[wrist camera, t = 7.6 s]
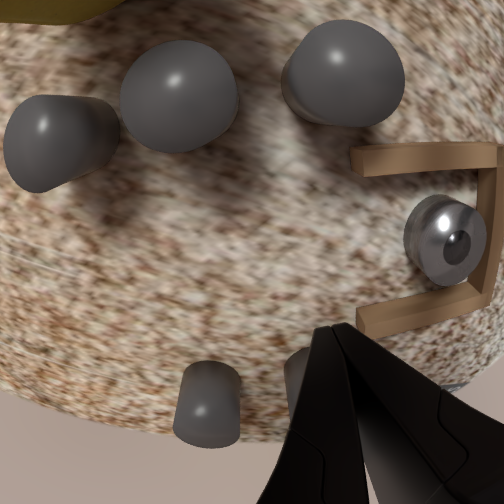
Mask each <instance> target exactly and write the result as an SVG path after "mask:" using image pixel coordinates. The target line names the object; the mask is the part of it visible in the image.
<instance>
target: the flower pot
mask: <svg viewBox="0 0 504 504" xmlns="http://www.w3.org/2000/svg"><path fill="white" fill-rule="evenodd" d="M123 1H125V0H0V23H24V24H38V25H68V24H74V23H78V22H82V21H85V20H88V19H90V18H93V17H95V16H97V15H100V14H102V13H104V12H106V11H108V10H110V9H112V8H114V7H116V6H117V5H118V4H120V3H122V2H123Z"/></svg>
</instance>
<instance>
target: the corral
mask: <svg viewBox="0 0 504 504" xmlns="http://www.w3.org/2000/svg"><path fill="white" fill-rule="evenodd" d="M349 149H350V159H351V169H352V171H354V172H355V173H357V174H359V175H361V176H363V177H370V176H380V175H390V174H400V173H412V172H424V171H437V170H452V169H470V168H478V193H477V210H476V211H478V212H479V213H480V215H481V216H482V218H483V220H484V223H485V226H486V245H485V249H484V252H483V255H482V257H481V260H480V261H479V263H478V265H477V266H476V268H475V269H474V270H473V272H472V273H471V274H470V275H469V276H468V281H467V282H464V283H460V284H457V285H453V286H449V287H445V288H441V289H437V290H433V291H429V292H425V293H421V294H417V295H413V296H409V297H405V298H400V299H396V300H391V301H387V302H382V303H378V304H373V305H368V306H363V307H358V308H356V325H357V327H358V329H359V331H360V332H362V333H363V334H365V335H366V336H368V337H369V338H370V339H372V340H373V339H377V338H382V337H386V336H390V335H394V334H398V333H402V332H405V331H409V330H413V329H417V328H420V327H424V326H427V325H431V324H434V323H438V322H441V321H444V320H448V319H451V318H454V317H457V316H460V315H463V314H466V313H470V312H473V311H475V310H478V309H481V308H484V307H487V306H490V302H491V298H492V294H493V290H494V286H495V281H496V277H497V272H498V267H499V262H500V256H501V250H502V244H503V237H504V145H501V144H497V143H492V142H417V143H395V144H379V145H366V146H354V147H349Z"/></svg>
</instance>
